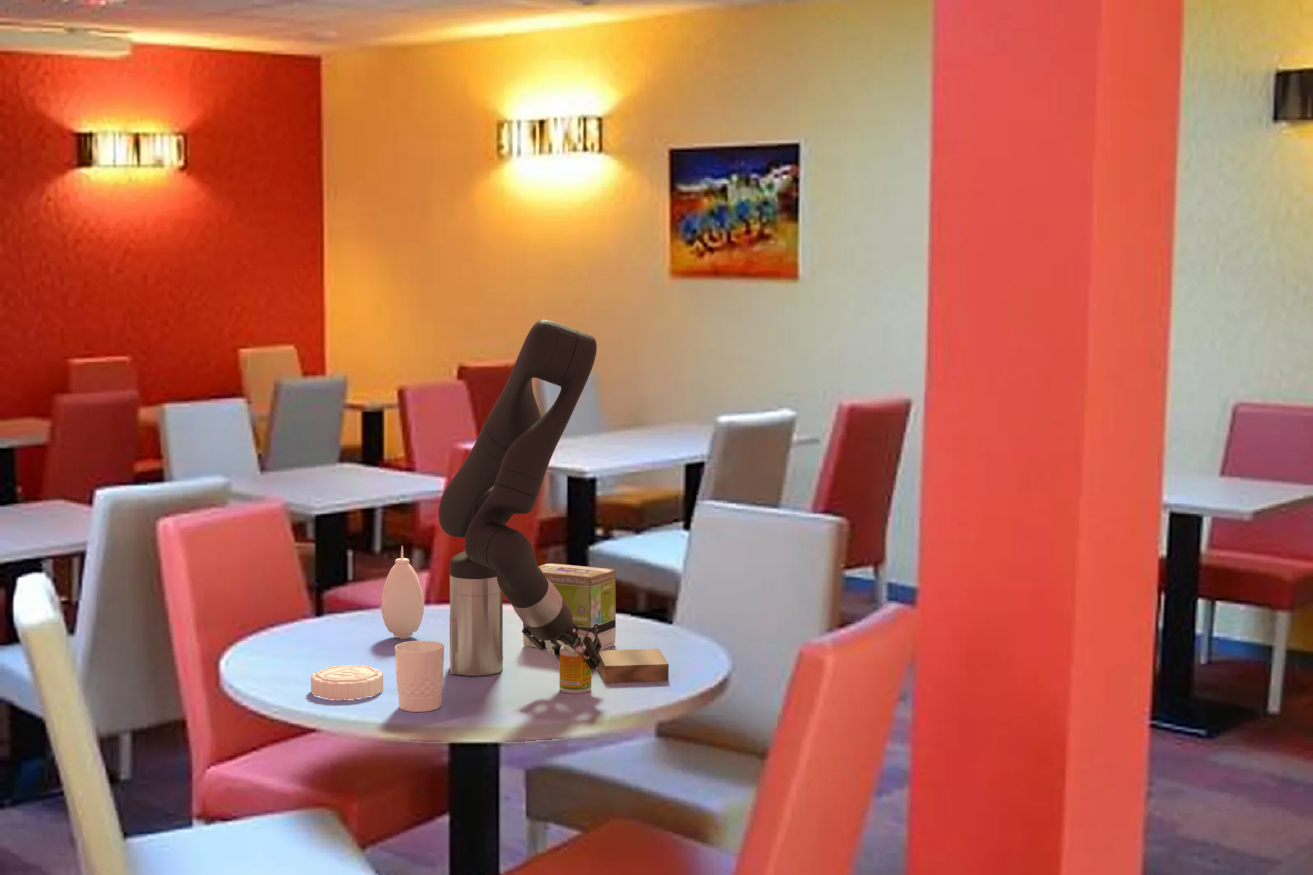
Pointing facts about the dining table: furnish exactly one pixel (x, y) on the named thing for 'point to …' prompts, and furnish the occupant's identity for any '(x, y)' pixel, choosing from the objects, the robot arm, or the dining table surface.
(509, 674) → the dining table surface
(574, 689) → the supplement bottle
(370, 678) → the mooncake
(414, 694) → the peach drinking glass
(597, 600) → the tea box
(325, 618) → the dining table surface
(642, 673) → the walnut plinth
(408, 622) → the air blower bulb
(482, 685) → the dining table surface
